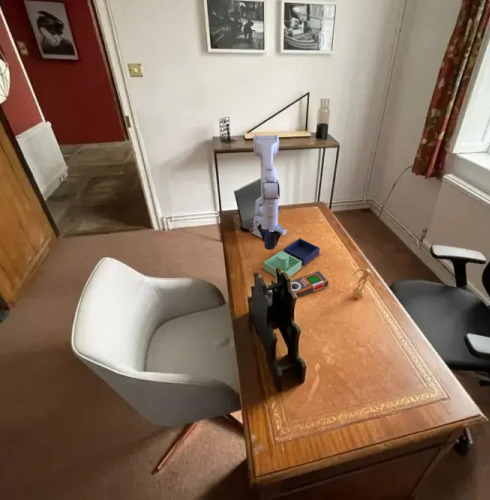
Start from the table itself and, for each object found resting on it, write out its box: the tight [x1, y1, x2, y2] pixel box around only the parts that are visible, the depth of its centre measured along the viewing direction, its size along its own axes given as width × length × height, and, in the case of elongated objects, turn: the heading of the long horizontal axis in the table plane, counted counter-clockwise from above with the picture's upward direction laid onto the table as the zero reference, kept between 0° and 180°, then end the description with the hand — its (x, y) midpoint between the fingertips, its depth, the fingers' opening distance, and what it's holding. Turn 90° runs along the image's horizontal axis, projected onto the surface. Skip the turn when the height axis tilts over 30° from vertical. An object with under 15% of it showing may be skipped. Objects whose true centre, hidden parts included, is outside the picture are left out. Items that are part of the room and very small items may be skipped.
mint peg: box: [277, 253, 289, 271], centre depth 124 cm, size 4×4×6 cm
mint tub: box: [263, 250, 303, 278], centre depth 126 cm, size 11×11×4 cm
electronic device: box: [290, 270, 329, 297], centre depth 117 cm, size 7×3×15 cm
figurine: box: [352, 268, 375, 300], centre depth 112 cm, size 8×6×12 cm
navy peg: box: [263, 231, 276, 251], centre depth 124 cm, size 4×4×6 cm
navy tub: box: [283, 237, 321, 267], centre depth 133 cm, size 11×11×4 cm
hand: (269, 243), depth 125 cm, fingers closed on navy peg, 4 cm apart
